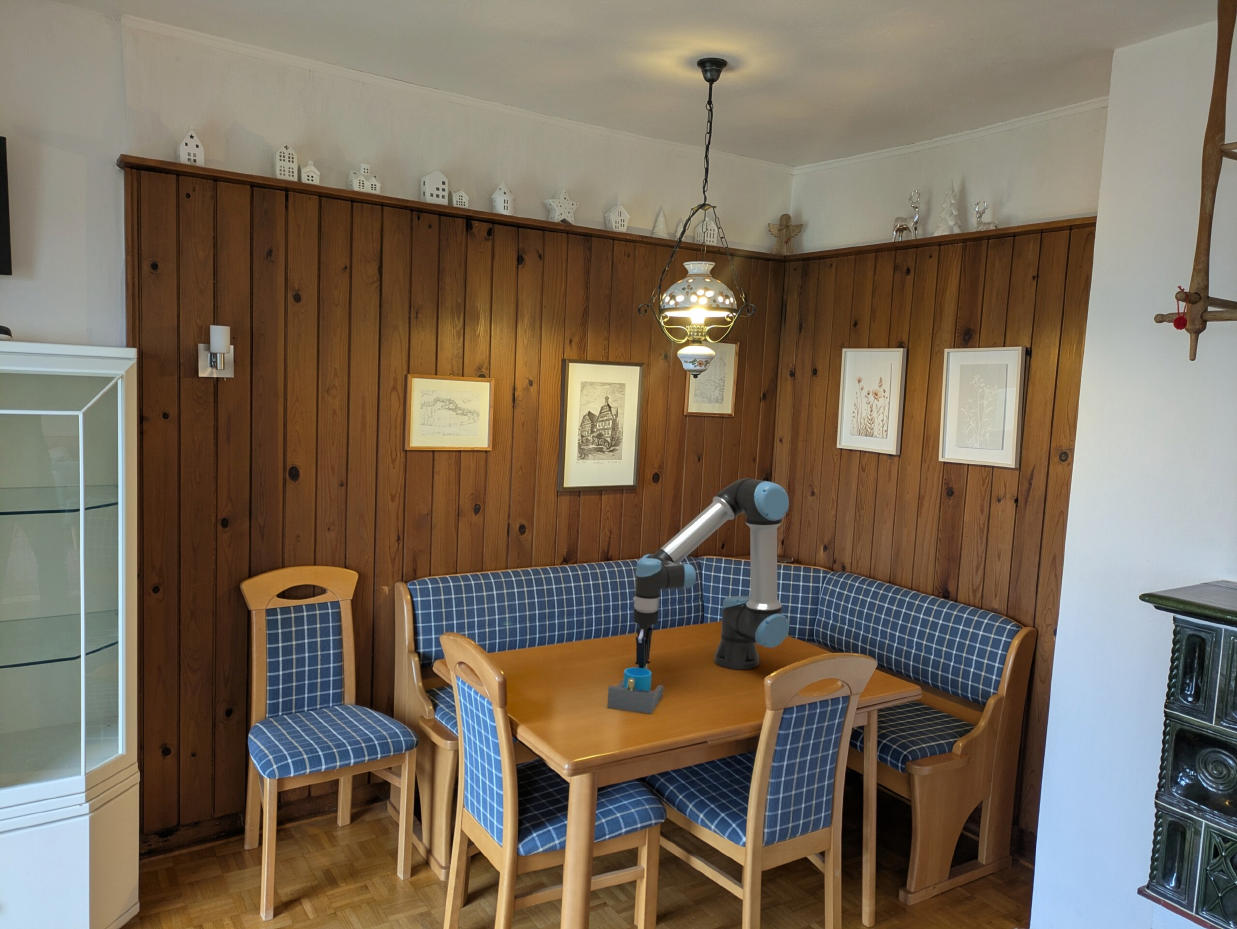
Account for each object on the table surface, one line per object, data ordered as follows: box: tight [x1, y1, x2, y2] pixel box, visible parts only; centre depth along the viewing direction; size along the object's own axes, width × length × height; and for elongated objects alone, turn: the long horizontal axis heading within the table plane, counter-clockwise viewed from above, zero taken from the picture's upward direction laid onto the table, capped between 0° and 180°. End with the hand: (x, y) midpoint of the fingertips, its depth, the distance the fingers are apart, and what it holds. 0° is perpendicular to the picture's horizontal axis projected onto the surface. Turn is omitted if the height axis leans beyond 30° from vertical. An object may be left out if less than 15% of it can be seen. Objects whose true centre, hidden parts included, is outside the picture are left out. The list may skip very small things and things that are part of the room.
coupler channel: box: [607, 678, 664, 715], centre depth 259 cm, size 13×16×9 cm
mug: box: [623, 666, 652, 691], centre depth 260 cm, size 12×8×8 cm
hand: (641, 684), depth 269 cm, fingers closed
